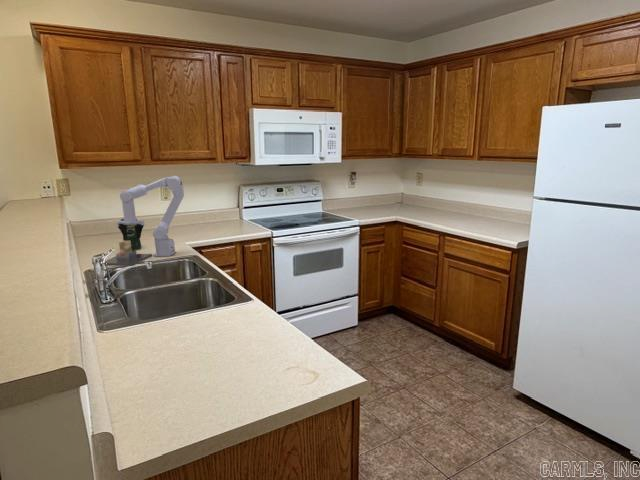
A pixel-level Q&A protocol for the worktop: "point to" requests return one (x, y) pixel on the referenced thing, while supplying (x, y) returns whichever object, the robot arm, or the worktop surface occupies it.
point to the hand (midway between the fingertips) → (132, 237)
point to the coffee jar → (132, 237)
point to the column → (125, 247)
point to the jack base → (128, 259)
